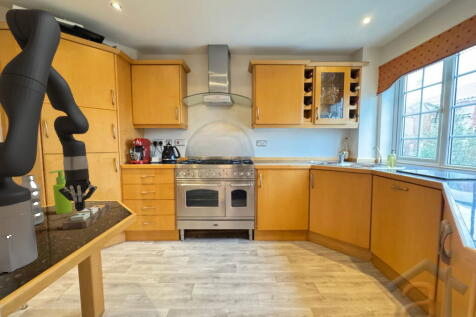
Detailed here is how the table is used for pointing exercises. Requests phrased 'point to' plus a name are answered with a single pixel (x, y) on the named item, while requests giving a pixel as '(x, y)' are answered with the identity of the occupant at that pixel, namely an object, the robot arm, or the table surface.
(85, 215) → the two dot button
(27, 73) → the robot arm
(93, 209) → the three dot button
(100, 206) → the one dot button
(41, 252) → the table surface
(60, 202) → the soap dispenser
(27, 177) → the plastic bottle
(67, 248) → the table surface
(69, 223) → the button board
